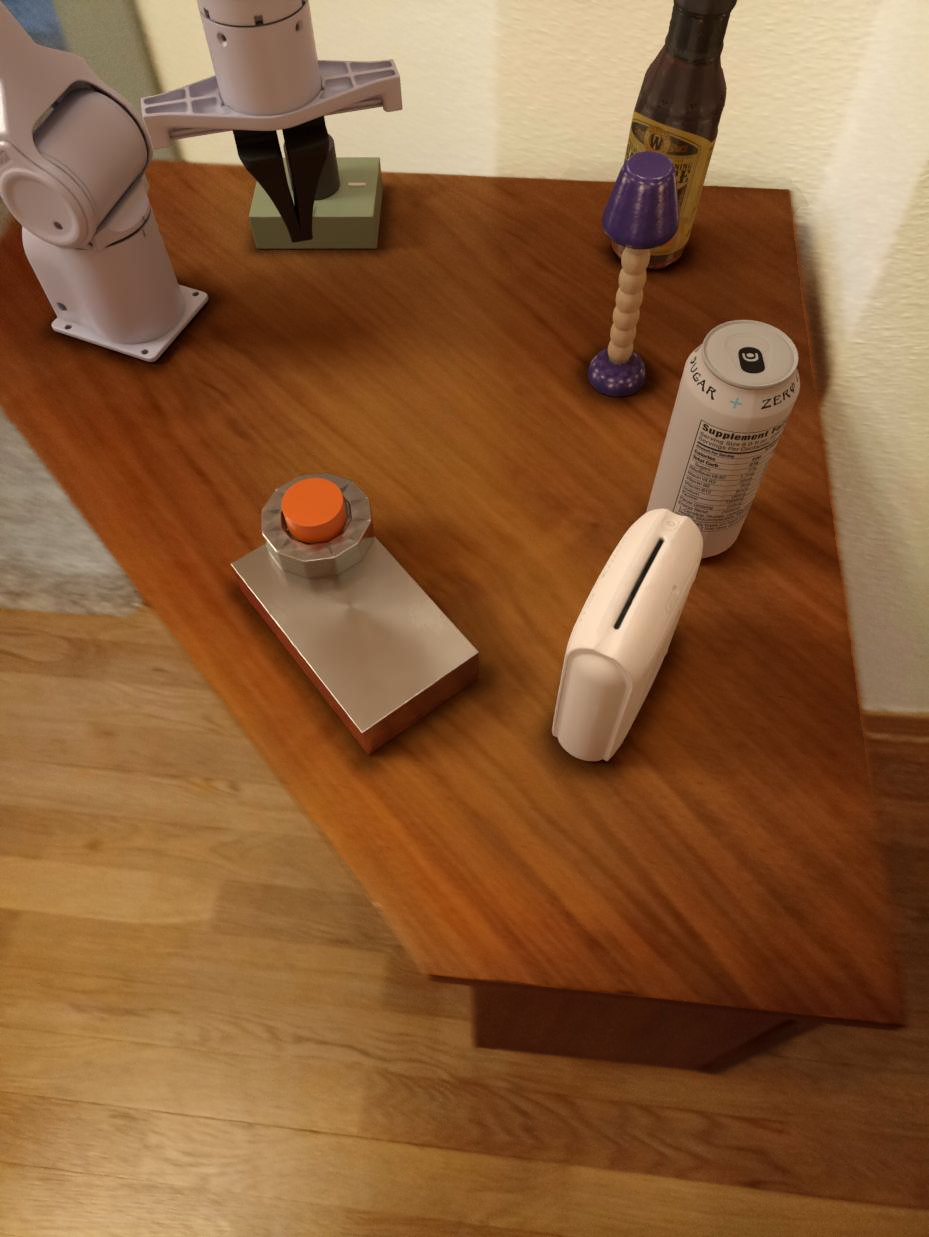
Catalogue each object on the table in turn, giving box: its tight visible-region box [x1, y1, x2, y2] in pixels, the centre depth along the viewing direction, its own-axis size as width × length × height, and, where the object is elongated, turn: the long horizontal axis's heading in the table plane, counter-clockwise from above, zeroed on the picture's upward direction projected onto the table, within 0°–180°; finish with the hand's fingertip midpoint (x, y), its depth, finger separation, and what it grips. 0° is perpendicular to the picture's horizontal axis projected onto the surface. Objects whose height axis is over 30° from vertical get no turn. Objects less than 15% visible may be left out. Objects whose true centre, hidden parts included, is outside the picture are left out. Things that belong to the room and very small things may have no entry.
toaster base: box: [230, 472, 480, 756], centre depth 52 cm, size 16×9×5 cm, turn 38°
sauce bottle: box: [611, 0, 738, 270], centre depth 64 cm, size 7×6×20 cm
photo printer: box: [551, 509, 703, 762], centre depth 47 cm, size 10×4×12 cm, turn 151°
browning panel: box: [248, 156, 384, 250], centre depth 74 cm, size 10×8×3 cm
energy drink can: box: [645, 319, 801, 560], centre depth 51 cm, size 6×6×15 cm
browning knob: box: [282, 133, 340, 200], centre depth 71 cm, size 4×4×4 cm
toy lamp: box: [587, 151, 679, 398], centre depth 58 cm, size 5×5×17 cm
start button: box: [281, 478, 347, 544], centre depth 52 cm, size 4×4×2 cm
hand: (300, 231), depth 58 cm, fingers closed
